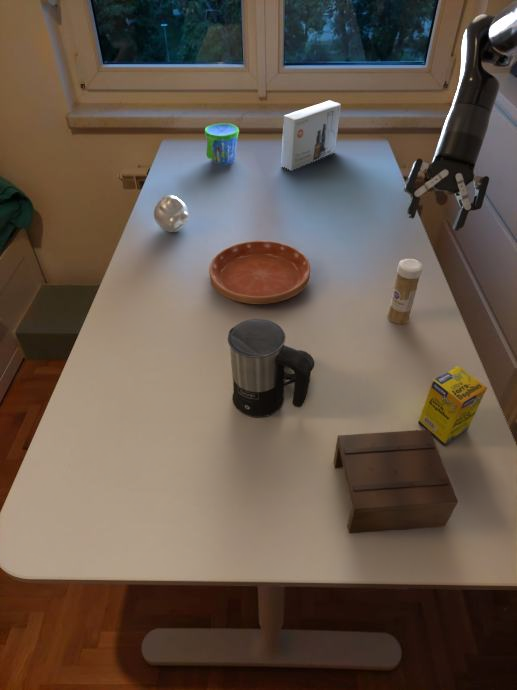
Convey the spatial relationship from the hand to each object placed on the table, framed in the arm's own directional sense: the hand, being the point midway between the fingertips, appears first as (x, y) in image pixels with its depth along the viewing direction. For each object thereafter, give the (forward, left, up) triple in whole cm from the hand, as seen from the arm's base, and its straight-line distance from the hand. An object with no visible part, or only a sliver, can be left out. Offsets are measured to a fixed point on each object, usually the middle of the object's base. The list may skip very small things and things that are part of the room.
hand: (433, 224), depth 95 cm
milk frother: (+32, +21, -20) cm, 43 cm away
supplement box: (+5, +33, -20) cm, 38 cm away
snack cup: (+39, -79, -20) cm, 90 cm away
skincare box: (+11, -77, -20) cm, 80 cm away
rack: (+17, +44, -20) cm, 51 cm away
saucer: (+32, -12, -20) cm, 40 cm away
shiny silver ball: (+53, -36, -20) cm, 67 cm away
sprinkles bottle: (+4, +4, -20) cm, 21 cm away
